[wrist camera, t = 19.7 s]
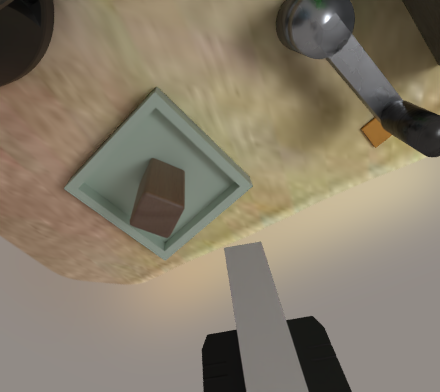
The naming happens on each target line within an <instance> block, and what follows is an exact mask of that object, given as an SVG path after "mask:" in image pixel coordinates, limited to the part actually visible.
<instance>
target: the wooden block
mask: <svg viewBox="0 0 440 392" xmlns="http://www.w3.org/2000/svg"><path fill="white" fill-rule="evenodd" d="M184 209H185V171H184V170H182V169H179V168H177V167H175V166H172V165H170V164H167V163H165V162H163V161H160V160H158V159H155V158H152V159H151V160H150V161H149V164H148V166H147V168H146V170H145V173H144V175H143V177H142V180H141V182H140V184H139V187H138V191H137V195H136V199H135V203H134V206H133V210H132V214H131V218H130V225H131V226H133V227H135V228H138V229H141V230H144V231H147V232H150V233H153V234H156V235H159V236H161V237H164V238H168V237H169V236H170V235H171V234H172V232H173V230H174V228H175V226H176V224H177V222H178V220H179V218H180V216H181V214H182V213H183V211H184Z"/></svg>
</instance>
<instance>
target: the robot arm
mask: <svg viewBox="0 0 440 392" xmlns="http://www.w3.org/2000/svg"><path fill="white" fill-rule="evenodd" d="M53 25H54V5H53V0H0V86H3V85H6V84H8V83H10V82H13V81H15V80H17V79H19V78H21V77H23V76H24V75H26V74H27V73H29V72H30V71H31V70H32V69H33V68H34V67H35V66H36V65H37V64H38V63H39V62H40V60H41V59H42V58H43V56H44V54H45V53H46V50H47V48H48V46H49V43H50V40H51V37H52V32H53ZM224 251H225V257H226V264H227V270H228V276H229V283H230V290H231V296H232V302H233V308H234V315H235V322H236V328H237V330H232V331H226V332H221V333H214V334H209V335H207V337H206V340H205V342H204V345H203V348H202V364H203V381H204V382H203V386H204V392H352V391H351V389H350V387H349V384H348V382H347V380H346V377H345V375H344V373H343V370H342V368H341V366H340V363H339V361H338V359H337V357H336V354H335V352H334V349H333V347H332V346H331V342H330V340H329V338H328V335H327V333H326V331H325V328H324V327H323V326H322V325H321V324H320V323H319V322H318V321H317V320H316V319H315V318H314V317H313V316H309V317H303V318H297V319H292V320H286V319H285V316H284V313H283V309H282V306H281V303H280V300H279V297H278V293H277V290H276V287H275V284H274V281H273V278H272V274H271V271H270V268H269V265H268V262H267V259H266V256H265V253H264V250H263V246H262V243H261V242H256V243H250V244H244V245H238V246H232V247H226V248H224Z"/></svg>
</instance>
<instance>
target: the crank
mask: <svg viewBox="0 0 440 392" xmlns="http://www.w3.org/2000/svg"><path fill="white" fill-rule="evenodd" d="M354 22H355V14H354V9H353V6H352V3H351V2H350V0H298V2H297V3H296V4H295V6H294V7H293V9H292V11H291V14H290V16H289V21H288V35H289V39H290V41H291V43H292V45H293V46H294V48H295V49H296V50H297V51H298V52H300V53H301V54H303V55H305V56H308V57H310V58H314V59H324V58H325V59H326V60H327V61H328V62H329V63H330V64H331V66H332V67H333V68H334V69H335V70H336V72H337V73H338V74H339V75H340V76H341V78H342V79H343V80H344V81H345V82H346V84H347V85H348V86H349V87H350V88H351V89H352V91H353V92H354V93H355V94H356V95H357V97H358V98H359V99H360V100H361V101H362V103H363V104H364V105H365V106H366V107H367V109H368V110H369V111H370V112H371V113H372V114H373V116H374V117H375V118H376V119H377V120H378V122H380V123H381V125H382V127H383V129H384V130H385V131H387V132H389V133H390V134H392V135H393V136H395V137H397V138H398V139H400V140H401V141H403V142H405V143H406V144H408V145H409V146H411V147H413V148H414V149H416V150H417V151H419V152H420V153H422V154H424V155H425V156H428V157H438V156H440V115H437V114H435V113H433V112H430V111H428V110H426V109H423V108H421V107H419V106H417V105H414V104H412V103H410V102H407V101H404V100H402V98H401V97H400V96H399V95H398V93H397V92H396V91H395V89H394V88H393V87H392V85H391V84H390V83H389V82H388V80H387V79H386V78H385V76H384V75H383V74H382V72H381V71H380V70H379V69H378V67H377V66H376V65H375V63H374V62H373V61H372V59H371V58H370V57H369V56H368V54H367V53H366V52H365V50H364V49H363V48H362V46H361V45H360V44H359V43H358V41H357V40H356V39H355V37H354V36H353V35H352V32H353V28H354Z"/></svg>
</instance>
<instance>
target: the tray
mask: <svg viewBox="0 0 440 392" xmlns="http://www.w3.org/2000/svg"><path fill="white" fill-rule="evenodd" d="M152 158H155V159H158V160H160V161H163V162H165V163H167V164H170V165H172V166H175V167H177V168H179V169H182V170H184V171H185V209H184V211H183V213H182V214H181V216H180V218H179V220H178V222H177V224H176V226H175V228H174V230H173V232H172V234H171V235H170V236H169V237H168V238H164V237H161V236H159V235H156V234H153V233H150V232H147V231H144V230H141V229H138V228H135V227H133V226H131V225H130V218H131V214H132V210H133V206H134V203H135V199H136V195H137V191H138V187H139V184H140V182H141V180H142V177H143V175H144V173H145V170H146V168H147V166H148V164H149V161H150V160H151V159H152ZM251 187H253V185H252V182H251V180H250V177H249V176H248V175H247V174H246V173H245V172H244V171H243V170H242V169H241V168H240V167H239V166H238V165H237V164H236V163H235V162H234V161H233V160H232V159H231V158H230V157H229V156H228V155H227V154H226V153H225V152H224V151H223V150H222V149H221V148H220V147H219V146H218V145H217V144H216V143H215V142H213V141H212V140H211V139H210V138H209V137H208V136H207V135H206V134H205V133H204V132H203V131H202V130H201V129H200V128H199V127H198V126H197V125H196V124H195V123H194V122H193V121H192V120H191V119H190V118H189V117H188V116H187V115H186V114H185V113H184V112H183V111H182V110H181V109H180V108H179V107H178V106H176V105H175V104H174V103H173V102H172V101H171V100H170V99H169V98H168V97H167V96H166V95H165V94H164V93H163V92H162V91H161V90H160V89H159V88H158V87H156V88H155V89H154V90H153V91H152V92H151V93H150V94H149V95H148V96H147V98H146V99H145V100H144V101H143V102H142V103H141V104H140V105H139V106H138V107H137V108H136V109H135V110H134V111H133V112H132V113H131V115H130V116H129V117H128V118H127V119H126V120H125V121H124V122H123V123H122V124H121V125H120V126H119V127H118V128H117V129H116V131H115V132H114V133H113V134H112V135H111V136H110V137H109V138H108V139H107V140H106V141H105V142H104V143H103V144H102V145H101V147H100V148H99V149H98V150H97V151H96V152H95V153H94V154H93V155H92V156H91V157H90V158H89V159H88V160H87V161H86V163H85V164H84V165H83V166H82V167H81V168H80V169H79V170H78V171H77V172H76V173H75V174H74V175H73V176H72V177H71V179H70V180H69V182H68V183H67V185H66V186H65V188H64V189H65V190H66V191H68V192H69V193H71V194H72V195H73V196H75V197H76V198H78V199H79V200H80V201H82V202H83V203H85V204H86V205H87V206H89V207H90V208H92V209H93V210H94V211H96V212H97V213H99V214H100V215H101V216H103V217H104V218H106V219H107V220H108V221H110V222H111V223H113V224H114V225H116V226H117V227H118V228H120V229H121V230H123V231H124V232H125V233H127V234H128V235H130V236H131V237H132V238H134V239H135V240H137V241H138V242H139V243H141V244H142V245H144V246H145V247H146V248H148V249H149V250H151V251H152V252H153V253H155V254H156V255H158V256H159V257H160V258H162V259H163V260H167V259H168V258H169V257H170V256H171V255H172V254H174V253H175V252H176V251H177V250H178V249H180V248H181V247H182V246H183V245H184V244H185V243H187V242H188V241H189V240H190V239H191V238H192V237H194V236H195V235H196V234H197V233H198V232H200V231H201V230H202V229H203V228H204V227H205V226H207V225H208V224H209V223H210V222H211V221H213V220H214V219H215V218H216V217H217V216H218V215H220V214H221V213H222V212H223V211H224V210H225V209H227V208H228V207H229V206H230V205H231V204H233V203H234V202H235V201H236V200H237V199H238V198H240V197H241V196H242V195H243V194H244V193H246V192H247V191H248V190H249V189H250V188H251Z"/></svg>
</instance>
